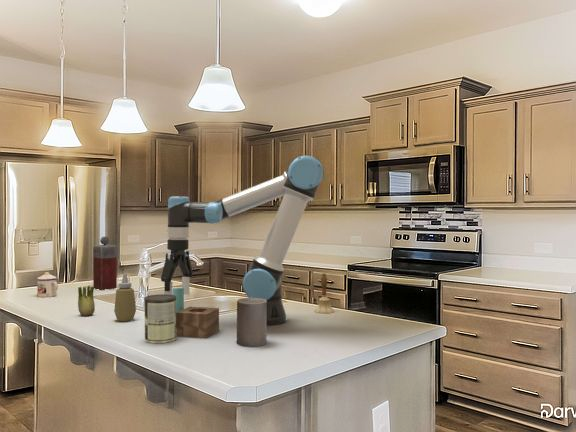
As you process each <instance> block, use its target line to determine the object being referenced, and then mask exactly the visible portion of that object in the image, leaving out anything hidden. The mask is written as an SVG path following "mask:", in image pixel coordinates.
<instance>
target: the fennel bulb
mask: <svg viewBox="0 0 576 432" xmlns="http://www.w3.org/2000/svg"><path fill="white" fill-rule="evenodd" d="M77 290H78V291H77V292H78V299H77V307H78V312H79V315H81V316H83V317H90V316H93V314H94V313H95V311H96V310H95V309H96V307H95V306H96V305H95V300H94V299H95V298H94V290H95V289H94V287H93V285H92V286H90V285H87V286H86V285H84V286H83V287H82V286H78V289H77Z"/></svg>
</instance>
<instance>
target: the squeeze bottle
mask: <svg viewBox="0 0 576 432" xmlns="http://www.w3.org/2000/svg"><path fill="white" fill-rule="evenodd" d="M135 297H136V296H135V289H134V288H133V287H132V282H130V281H129V278H128V274H127V273H123V275H122V280H121V282H118V288H117V289H115V300H114V301H115V302H114V310H113V311H114V315H115V317H116V320H117V322H130V321H134V318H135V314H136V312H137V307H136V298H135Z"/></svg>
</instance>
